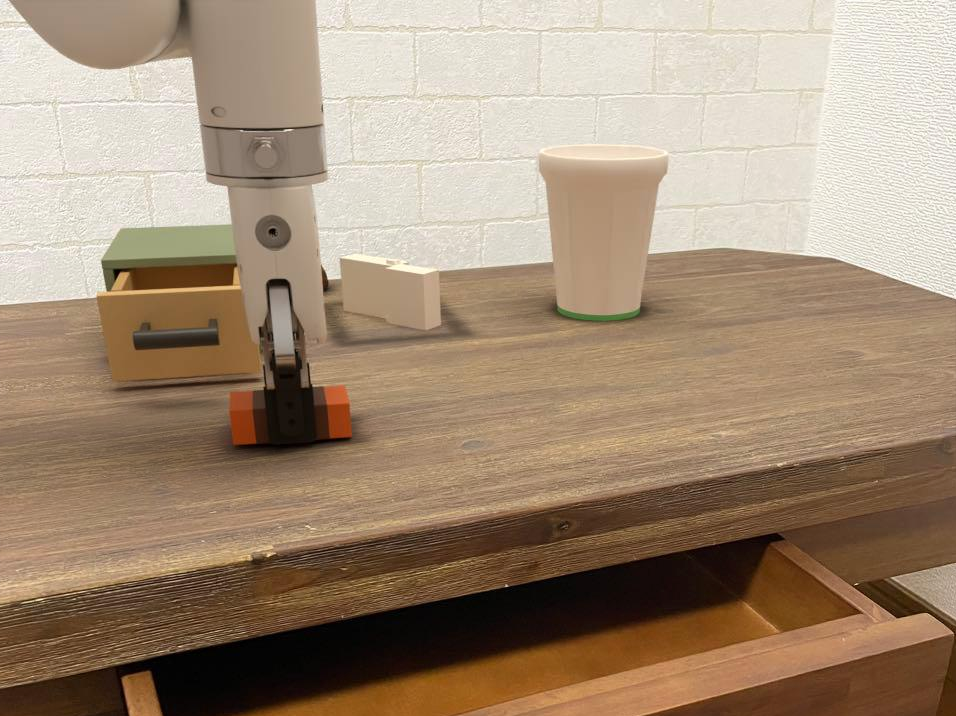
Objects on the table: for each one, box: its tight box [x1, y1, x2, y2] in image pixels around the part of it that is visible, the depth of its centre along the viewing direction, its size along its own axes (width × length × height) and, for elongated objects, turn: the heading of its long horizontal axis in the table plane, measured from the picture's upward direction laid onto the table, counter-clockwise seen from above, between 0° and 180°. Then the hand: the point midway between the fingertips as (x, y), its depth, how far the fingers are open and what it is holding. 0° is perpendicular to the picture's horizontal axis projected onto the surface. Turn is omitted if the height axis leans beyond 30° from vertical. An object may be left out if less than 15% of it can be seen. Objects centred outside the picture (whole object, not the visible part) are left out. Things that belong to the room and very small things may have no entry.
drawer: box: [96, 264, 263, 383], centre depth 85 cm, size 18×11×7 cm, turn 14°
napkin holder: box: [339, 253, 442, 331], centre depth 101 cm, size 15×11×6 cm
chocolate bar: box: [228, 384, 353, 446], centre depth 73 cm, size 8×4×2 cm, turn 104°
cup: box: [538, 143, 670, 322], centre depth 102 cm, size 12×12×15 cm
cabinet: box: [100, 223, 263, 352], centre depth 95 cm, size 15×13×9 cm
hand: (292, 427), depth 73 cm, fingers closed on chocolate bar, 4 cm apart
